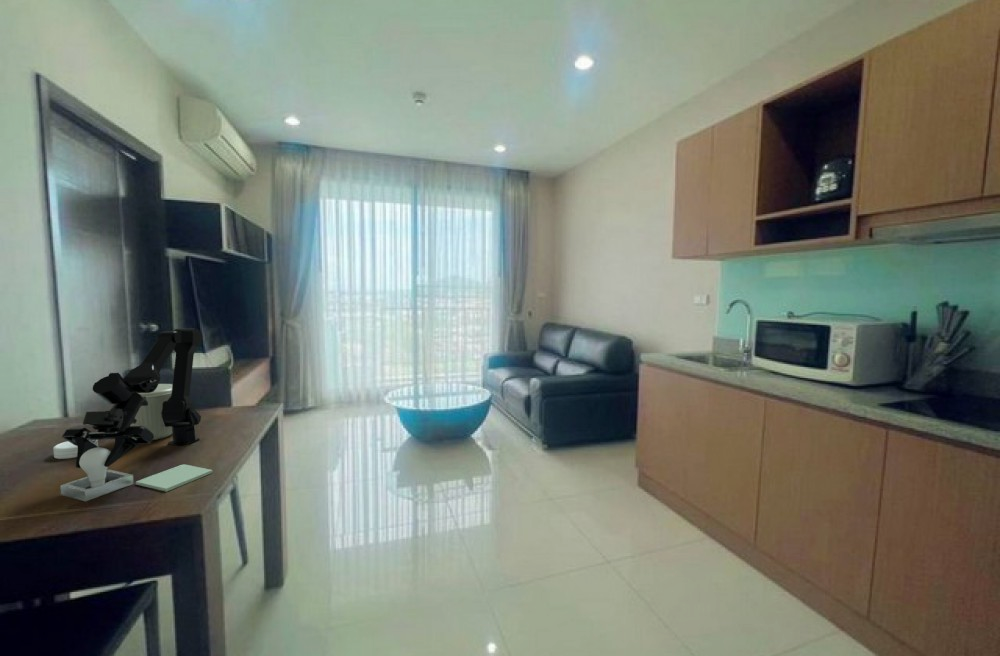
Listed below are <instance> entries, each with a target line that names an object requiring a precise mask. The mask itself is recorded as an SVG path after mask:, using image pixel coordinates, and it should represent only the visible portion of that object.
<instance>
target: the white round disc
mask: <svg viewBox="0 0 1000 656" xmlns="http://www.w3.org/2000/svg"><path fill="white" fill-rule="evenodd" d="M93 444H95V445H96V446H98V447H99V440H96V441H95V442H94V443H93ZM52 450H53V452H52V453H53V457H54V458H55V459H58V460H62V459H63V460H64V459H65V460H66V459H73V458H74V459H75V458H77V453H78V446H75V445H74V444H72V443H70V442H69V441H67V440H66V441H64V442H61V443H58V444H56V445H55V446H53V448H52Z"/></svg>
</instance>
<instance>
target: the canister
mask: <svg viewBox="0 0 1000 656" xmlns="http://www.w3.org/2000/svg"><path fill="white" fill-rule="evenodd" d="M172 384H173V383H159V384H158V386H157V388H156V389H155V391H154V392H151V393H138V394H140V395H141V396H142V397H146V400H147V402H148V405H147V406H141V407H140V409H139V411H138V412H137V414H136V416H135V419H136V420H137V421H136V423H135V424H131V425H130V426H145V427H146V428H147V429H148V430H149V431H151V432H152V433H153V435H154V438H153V440H152V441H156V440H159V439H160V440H161V439H163V438H164V439H165V438H167V437H169V436H171V435H172V426H171V427H165V425H164V422H163V419H162V414H161V412H162V404H163V402H164V401H167V400H168V399H169V398H170V397H171V393H172Z"/></svg>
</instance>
